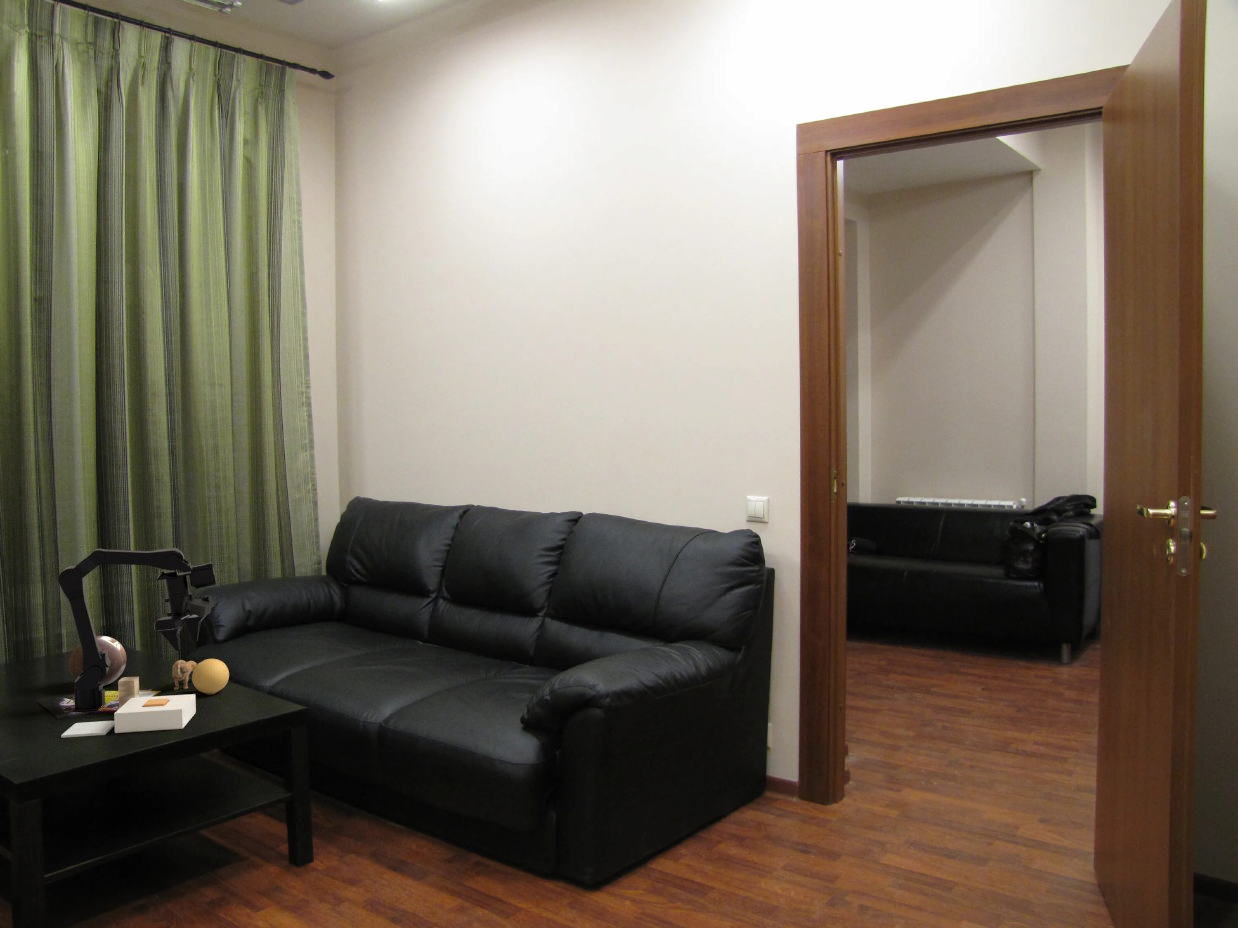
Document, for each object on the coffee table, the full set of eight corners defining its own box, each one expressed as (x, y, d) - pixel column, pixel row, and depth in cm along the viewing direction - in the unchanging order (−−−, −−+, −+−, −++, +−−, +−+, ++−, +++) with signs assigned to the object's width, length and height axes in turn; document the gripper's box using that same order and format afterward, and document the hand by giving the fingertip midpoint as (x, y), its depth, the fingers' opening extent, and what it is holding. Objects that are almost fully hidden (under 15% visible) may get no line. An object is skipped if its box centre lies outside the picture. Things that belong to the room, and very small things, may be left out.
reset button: (143, 716, 244) (143, 704, 244) (149, 710, 249) (148, 699, 249) (163, 714, 245) (163, 703, 245) (168, 709, 250) (168, 698, 250)
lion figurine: (188, 692, 276) (187, 661, 275) (168, 692, 275) (168, 662, 275) (203, 678, 290) (202, 649, 290) (184, 679, 290) (184, 650, 289)
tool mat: (61, 737, 235) (61, 735, 235) (75, 725, 245) (75, 722, 245) (104, 734, 237) (104, 732, 237) (117, 722, 247) (117, 720, 247)
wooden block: (119, 714, 254) (118, 681, 254) (123, 709, 258) (122, 677, 258) (135, 713, 255) (134, 680, 255) (139, 708, 259) (138, 676, 259)
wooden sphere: (124, 689, 279) (122, 639, 278) (65, 695, 273) (64, 643, 273) (129, 677, 293) (128, 629, 292) (74, 682, 287) (73, 633, 286)
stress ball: (225, 699, 271) (242, 670, 278) (203, 678, 266) (221, 650, 273) (200, 701, 275) (217, 672, 282) (178, 681, 269) (196, 652, 277)
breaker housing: (114, 732, 239) (114, 713, 238) (131, 716, 252) (131, 697, 252) (182, 728, 242) (182, 708, 242) (195, 712, 255) (195, 693, 255)
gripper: (186, 597, 258) (195, 653, 259) (221, 582, 277) (230, 634, 278) (148, 601, 259) (157, 656, 261) (186, 586, 278) (194, 637, 279)
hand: (187, 645), depth 270 cm, fingers open, 9 cm apart
